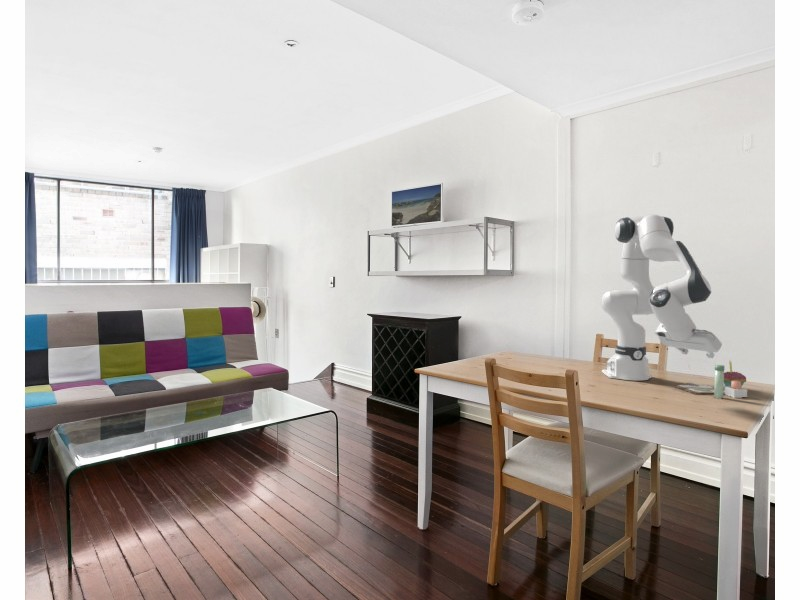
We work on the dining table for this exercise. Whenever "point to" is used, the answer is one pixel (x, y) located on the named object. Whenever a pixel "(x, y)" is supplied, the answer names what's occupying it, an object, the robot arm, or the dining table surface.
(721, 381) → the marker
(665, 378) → the dining table surface
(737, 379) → the cupcake
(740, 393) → the button housing
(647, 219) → the robot arm
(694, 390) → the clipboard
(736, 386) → the button
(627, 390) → the dining table surface
